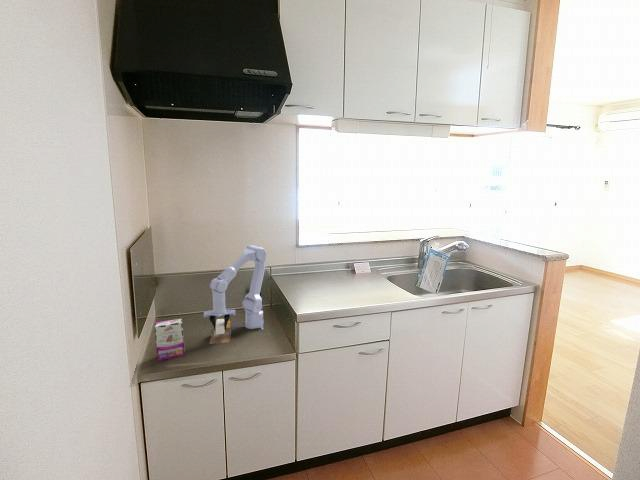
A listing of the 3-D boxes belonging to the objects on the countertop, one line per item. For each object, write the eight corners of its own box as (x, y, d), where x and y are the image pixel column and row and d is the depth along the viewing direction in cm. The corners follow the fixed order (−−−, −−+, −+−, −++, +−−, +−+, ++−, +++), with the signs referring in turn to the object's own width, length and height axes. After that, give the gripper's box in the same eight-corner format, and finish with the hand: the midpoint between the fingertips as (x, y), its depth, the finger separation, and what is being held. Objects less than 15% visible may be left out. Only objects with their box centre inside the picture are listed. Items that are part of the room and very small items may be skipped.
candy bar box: (184, 350, 154) (182, 317, 150) (185, 356, 149) (182, 322, 146) (157, 355, 149) (154, 321, 146) (157, 361, 145) (154, 326, 141)
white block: (225, 325, 168) (225, 318, 167) (224, 333, 161) (224, 326, 160) (217, 326, 167) (216, 319, 166) (215, 334, 160) (215, 326, 159)
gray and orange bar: (245, 324, 169) (245, 319, 169) (245, 326, 167) (245, 321, 167) (226, 326, 167) (226, 320, 167) (226, 328, 165) (225, 322, 165)
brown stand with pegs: (231, 332, 171) (231, 324, 170) (230, 343, 161) (230, 334, 160) (211, 334, 169) (211, 325, 168) (209, 345, 159) (209, 336, 158)
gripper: (202, 307, 154) (203, 334, 157) (234, 305, 157) (235, 331, 160) (204, 301, 161) (205, 327, 164) (235, 299, 164) (235, 325, 167)
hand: (220, 329), depth 162 cm, fingers closed on white block, 4 cm apart
